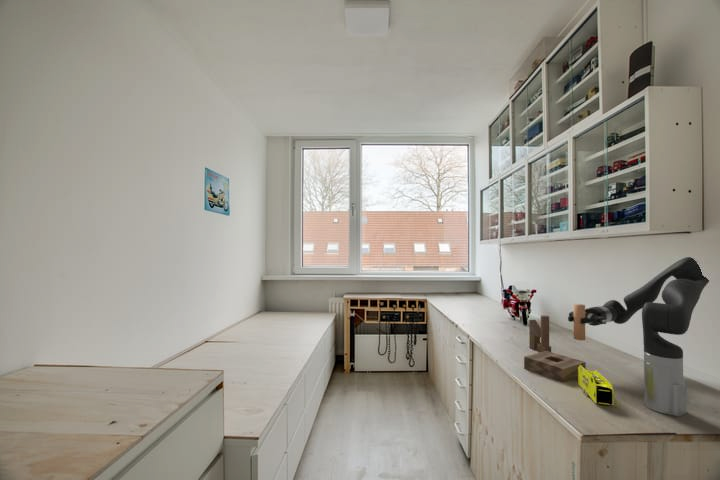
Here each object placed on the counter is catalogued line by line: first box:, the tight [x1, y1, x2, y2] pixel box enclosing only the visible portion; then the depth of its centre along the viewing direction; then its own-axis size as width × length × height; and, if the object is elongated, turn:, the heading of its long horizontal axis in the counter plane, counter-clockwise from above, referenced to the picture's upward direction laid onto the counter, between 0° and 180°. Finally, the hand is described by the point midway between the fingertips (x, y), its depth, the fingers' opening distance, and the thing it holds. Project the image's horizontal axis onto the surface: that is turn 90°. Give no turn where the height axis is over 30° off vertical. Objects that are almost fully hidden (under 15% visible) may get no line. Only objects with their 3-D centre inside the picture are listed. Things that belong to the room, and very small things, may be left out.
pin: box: [572, 303, 586, 341], centre depth 135 cm, size 4×4×14 cm
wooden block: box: [528, 314, 552, 353], centre depth 162 cm, size 4×11×18 cm, turn 12°
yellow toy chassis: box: [577, 365, 615, 406], centre depth 113 cm, size 16×6×8 cm, turn 163°
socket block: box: [523, 351, 587, 383], centre depth 135 cm, size 16×16×5 cm
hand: (575, 320), depth 133 cm, fingers closed on pin, 4 cm apart
